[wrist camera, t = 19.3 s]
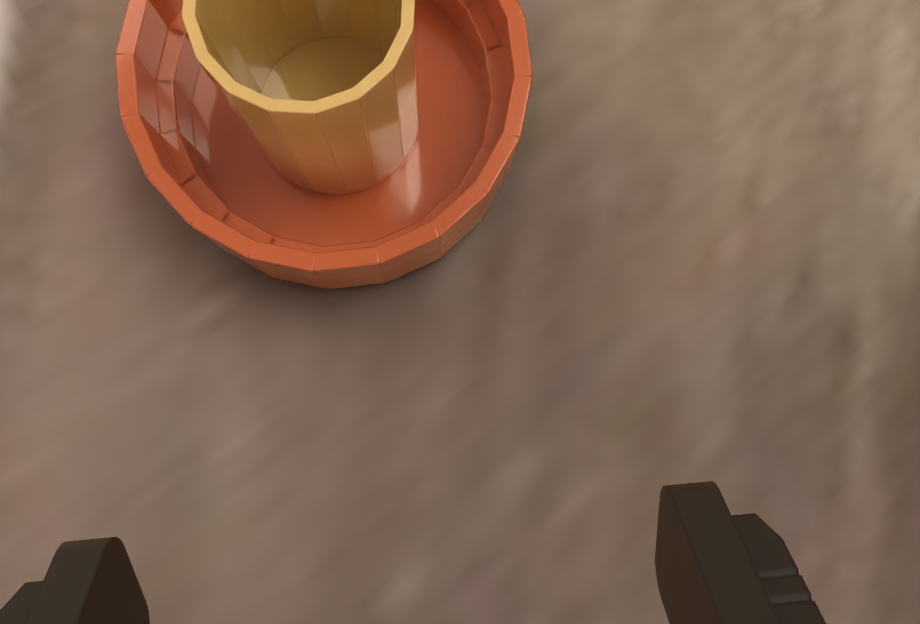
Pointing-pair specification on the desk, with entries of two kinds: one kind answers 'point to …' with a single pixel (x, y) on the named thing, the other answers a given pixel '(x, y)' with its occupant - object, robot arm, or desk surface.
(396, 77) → the cup
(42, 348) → the desk surface
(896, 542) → the desk surface
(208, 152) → the bowl
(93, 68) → the desk surface
